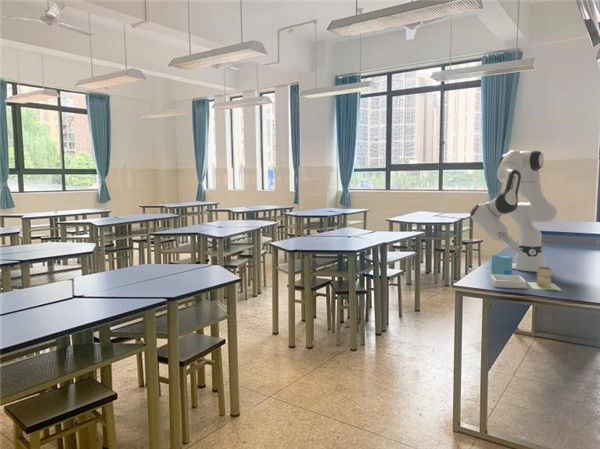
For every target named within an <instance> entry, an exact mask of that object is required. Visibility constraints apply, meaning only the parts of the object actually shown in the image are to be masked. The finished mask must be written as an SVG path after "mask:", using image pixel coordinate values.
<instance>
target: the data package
mask: <svg viewBox="0 0 600 449" xmlns="http://www.w3.org/2000/svg"><path fill="white" fill-rule="evenodd" d="M512 263H513V259H512V257H511V256H508V255H505V254H498V253H497V254H492V256H491V274H493V275H513V274H512V272H513V270H512Z"/></svg>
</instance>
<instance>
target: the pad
mask: <svg viewBox="0 0 600 449" xmlns="http://www.w3.org/2000/svg"><path fill="white" fill-rule="evenodd" d="M526 284H528V285H529V286H530V287H531V289H533V290H545V291H546V290H548V291H549V290H550V291H557V292H559V293H560V292H561V293H562V292H563V290H562V289H561V288H560V287H559V286H558V285H556V284H555V283H554V282H553V283H552V282H551V287H539V286H538V285H537V281H536V282H533V281H529V282H528V281H526Z"/></svg>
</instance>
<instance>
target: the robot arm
mask: <svg viewBox="0 0 600 449" xmlns="http://www.w3.org/2000/svg"><path fill="white" fill-rule="evenodd" d="M544 162H545V158H544V155H543V153H542V151H539V150H521V151H519V150H516V149H515V150H509V151H508V152H506V153H504V154H502V155H501V156H500V158H499V166H498V169H497V173H496V178H497V180H498V181H499V182H500V183H502V184H504V188H503V191H502V192H501V193H500V194H498V195H497V196H496V197H495V198H493V199H491V200H490V201H488V202H485V203H478V204H477V203H476V205H474V207H473V208H472V209H471V211H470V214H469V215H470V218H471V220H472V221H473V222H474V223H475V224H476V225H477V226H478V227H479V228H481V229H482V230H484V232H485V233H486V235H488V237H490V238H491V239H492V240H493V241H495V240H497V241H500V242H502V244H505V245H506V247H508V248H509V249H511V250H513V251H515V252H516V253H517V254H515V256H513V259H512V261H514V262H512V269H513V270H518V271H523V272H536V273H537V267H546V259H545V255H544V254H543V253H542V252H543V246H542V238H543V237H542V236H543V235H542V232H541V230H540V229H539V228H536V227H535V226H534V224H533V223H546V222H548V223H549V222H553V220H555V219H556V217H557V214H558V213H557V208H556V206H555V205H554V204H552V203H551V202H550V201H548V200H547V198H546V197H545V195H544V194H543V191H542V186H541V178H540V176H541V175H540V170H541V168H543V166H544ZM518 193H519V195H520V196H521V197H522V198H524V199H526V200H527V201H528V202H523V201H522V202H519V199H518ZM506 215H508V217H509V219H511V220H512V221H513V222H514V223H515V224H516V226H517V228H518V231H519V244H518V243H517V242H516V241H515V240H514V239H513V238H512V237H511V236H510V235H509V231H508V230H509V227H508V226H506V225H505V224H504V223H503V221H501V220H500V218H503V217H504V216H506Z"/></svg>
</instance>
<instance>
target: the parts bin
mask: <svg viewBox="0 0 600 449" xmlns="http://www.w3.org/2000/svg"><path fill="white" fill-rule="evenodd" d="M489 276H490V278H489V280H490V283H491V284H492V286H493V287H494V288H506V289H507V288H509V289H527V281H526V280H525V279H524V277H522V276H521V275H513V274H512V275H493V274H492V273H491V274H490V275H489Z"/></svg>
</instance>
